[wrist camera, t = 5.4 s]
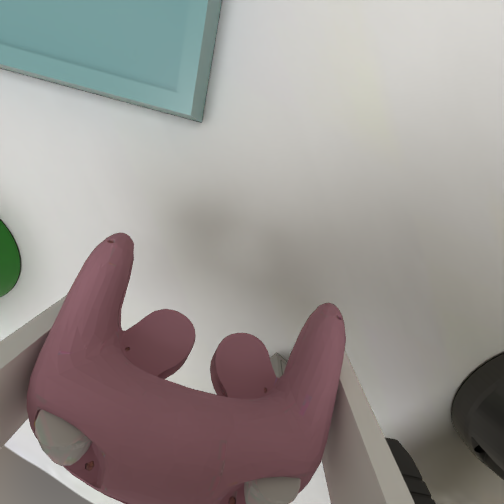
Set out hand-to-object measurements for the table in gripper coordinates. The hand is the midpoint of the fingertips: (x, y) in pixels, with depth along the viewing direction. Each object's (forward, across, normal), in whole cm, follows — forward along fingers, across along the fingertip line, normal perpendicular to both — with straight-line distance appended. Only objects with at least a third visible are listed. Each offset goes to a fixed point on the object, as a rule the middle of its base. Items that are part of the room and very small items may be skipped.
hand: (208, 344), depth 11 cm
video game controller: (+1, 0, -1) cm, 1 cm away
